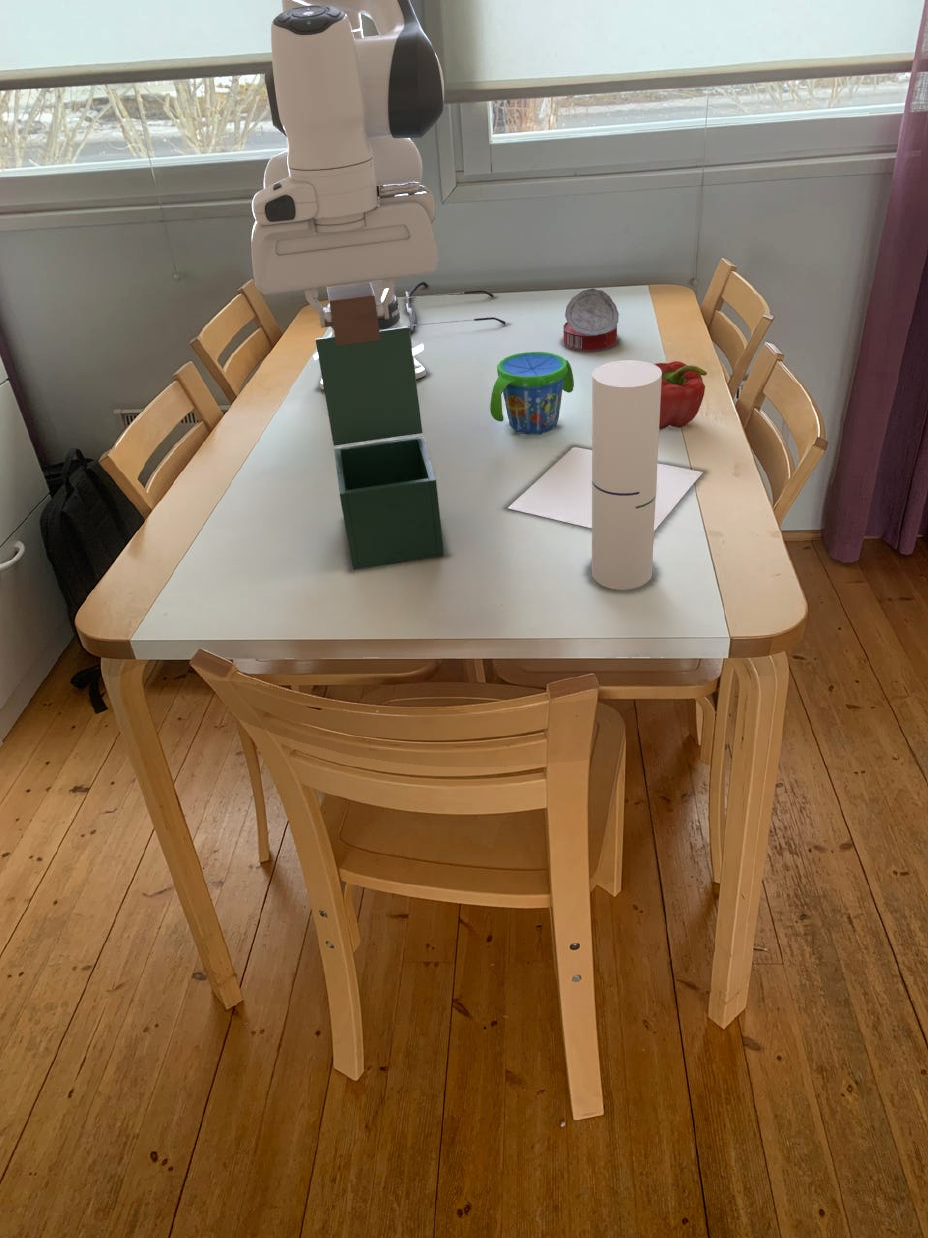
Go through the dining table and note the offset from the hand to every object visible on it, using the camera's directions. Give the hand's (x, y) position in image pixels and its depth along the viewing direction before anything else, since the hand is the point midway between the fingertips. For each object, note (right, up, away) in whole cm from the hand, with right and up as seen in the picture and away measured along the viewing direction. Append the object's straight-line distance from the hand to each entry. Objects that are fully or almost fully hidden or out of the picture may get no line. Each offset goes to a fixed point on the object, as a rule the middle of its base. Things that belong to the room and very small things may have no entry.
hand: (354, 321), depth 106 cm
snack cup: (+23, -4, +40) cm, 47 cm away
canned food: (+36, +18, +67) cm, 78 cm away
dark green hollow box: (+3, -23, +16) cm, 29 cm away
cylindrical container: (+31, -28, +6) cm, 43 cm away
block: (0, -1, +1) cm, 2 cm away
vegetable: (+44, -4, +37) cm, 58 cm away
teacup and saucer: (+32, -16, +22) cm, 42 cm away
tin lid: (+1, -5, +11) cm, 12 cm away
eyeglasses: (+10, +28, +85) cm, 90 cm away
